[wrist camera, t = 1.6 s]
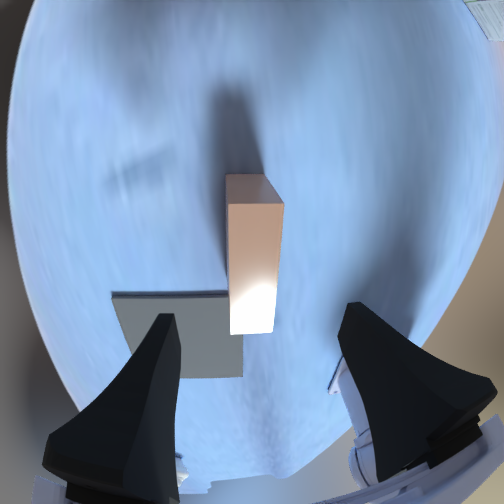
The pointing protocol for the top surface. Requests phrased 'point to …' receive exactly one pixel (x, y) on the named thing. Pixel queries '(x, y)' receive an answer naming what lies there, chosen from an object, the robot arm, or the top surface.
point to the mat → (187, 331)
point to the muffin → (180, 471)
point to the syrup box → (489, 17)
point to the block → (252, 251)
